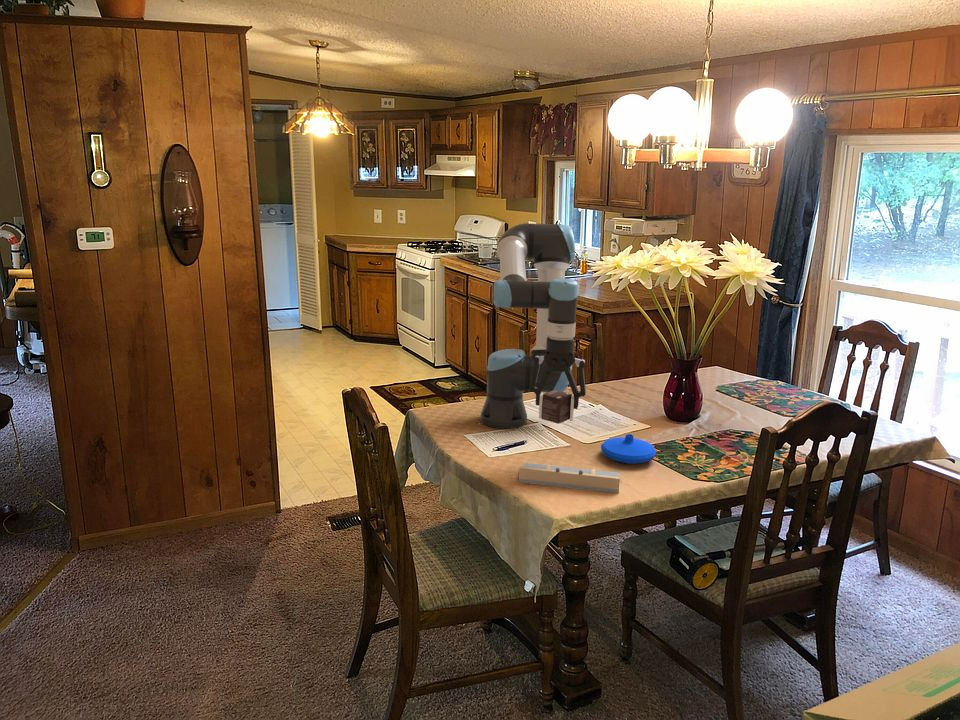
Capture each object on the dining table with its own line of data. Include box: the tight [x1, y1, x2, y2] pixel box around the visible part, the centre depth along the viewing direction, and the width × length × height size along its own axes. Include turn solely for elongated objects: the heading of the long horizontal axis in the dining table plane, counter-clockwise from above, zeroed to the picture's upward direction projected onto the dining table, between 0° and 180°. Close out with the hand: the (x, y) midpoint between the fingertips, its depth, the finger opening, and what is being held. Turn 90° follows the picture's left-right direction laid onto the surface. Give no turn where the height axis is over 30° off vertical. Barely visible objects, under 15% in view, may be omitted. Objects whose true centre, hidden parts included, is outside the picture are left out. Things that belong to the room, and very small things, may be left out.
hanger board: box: [518, 462, 621, 494], centre depth 200 cm, size 11×26×5 cm, turn 78°
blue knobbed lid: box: [600, 433, 657, 465], centre depth 216 cm, size 16×16×7 cm
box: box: [540, 390, 573, 425], centre depth 206 cm, size 6×6×7 cm
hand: (556, 418), depth 207 cm, fingers closed on box, 8 cm apart
